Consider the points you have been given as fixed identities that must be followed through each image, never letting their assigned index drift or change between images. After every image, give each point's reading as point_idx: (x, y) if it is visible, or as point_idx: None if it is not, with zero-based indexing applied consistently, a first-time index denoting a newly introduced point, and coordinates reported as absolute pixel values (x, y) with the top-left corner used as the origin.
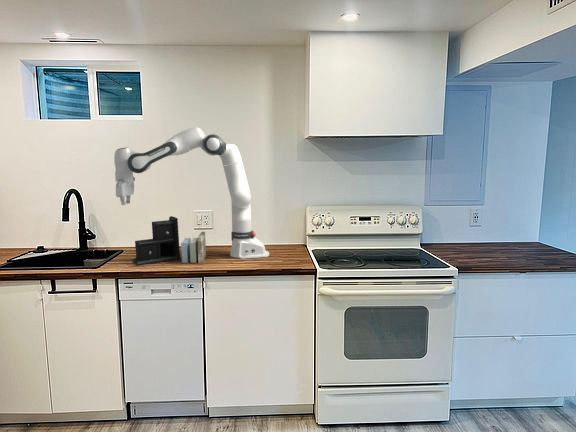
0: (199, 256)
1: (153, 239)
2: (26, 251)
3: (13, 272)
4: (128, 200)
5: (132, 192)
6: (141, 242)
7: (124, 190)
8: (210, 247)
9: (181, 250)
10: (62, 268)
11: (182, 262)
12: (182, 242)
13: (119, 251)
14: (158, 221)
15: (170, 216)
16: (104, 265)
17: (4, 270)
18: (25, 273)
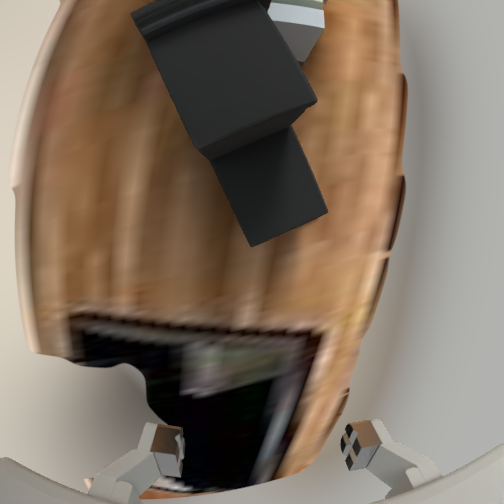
0: (322, 6)
1: (235, 152)
2: None
3: (303, 464)
4: (175, 460)
5: (37, 500)
6: (308, 202)
7: None
8: (78, 23)
9: (315, 42)
10: (295, 410)
11: (304, 60)
12: (314, 22)
13: (84, 325)
14: (197, 96)
15: (136, 19)
16: (288, 323)
17: (280, 478)
18: (320, 447)
